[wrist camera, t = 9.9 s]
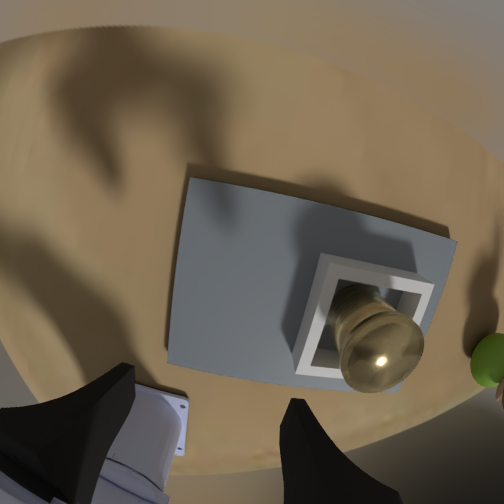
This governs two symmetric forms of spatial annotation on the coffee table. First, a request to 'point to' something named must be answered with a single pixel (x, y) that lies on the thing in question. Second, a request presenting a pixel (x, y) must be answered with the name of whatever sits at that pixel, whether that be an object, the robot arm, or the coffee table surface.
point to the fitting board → (287, 281)
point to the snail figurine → (489, 363)
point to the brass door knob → (372, 339)
